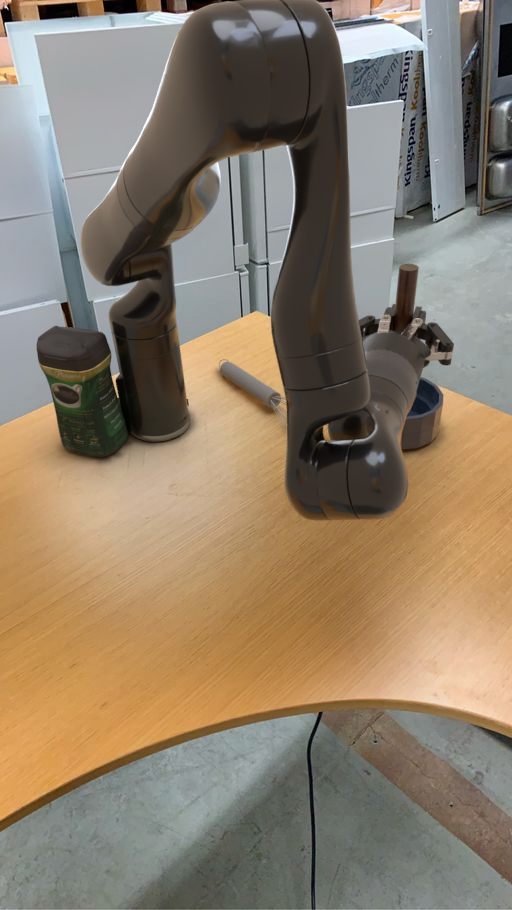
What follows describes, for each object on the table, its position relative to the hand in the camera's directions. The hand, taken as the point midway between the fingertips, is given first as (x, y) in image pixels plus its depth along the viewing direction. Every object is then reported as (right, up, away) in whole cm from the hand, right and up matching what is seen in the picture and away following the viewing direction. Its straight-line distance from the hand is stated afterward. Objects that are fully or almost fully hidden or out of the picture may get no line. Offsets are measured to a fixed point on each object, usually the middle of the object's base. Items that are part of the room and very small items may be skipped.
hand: (406, 312), depth 81 cm
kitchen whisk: (-16, -12, +22) cm, 30 cm away
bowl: (+3, -14, +18) cm, 23 cm away
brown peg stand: (-1, -10, +4) cm, 10 cm away
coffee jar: (-43, -16, +18) cm, 49 cm away
